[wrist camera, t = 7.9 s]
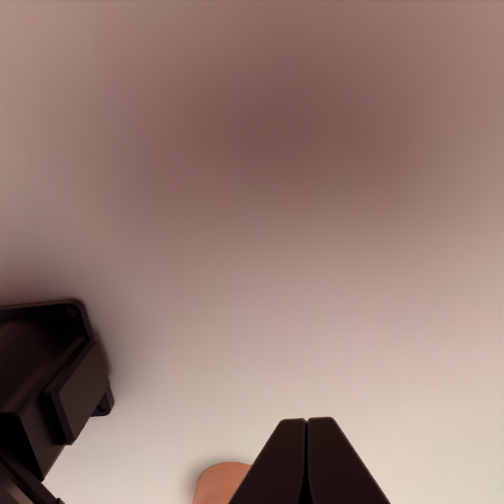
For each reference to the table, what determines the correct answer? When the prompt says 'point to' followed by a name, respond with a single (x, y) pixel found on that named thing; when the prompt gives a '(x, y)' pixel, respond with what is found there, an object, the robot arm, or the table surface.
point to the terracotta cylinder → (219, 483)
